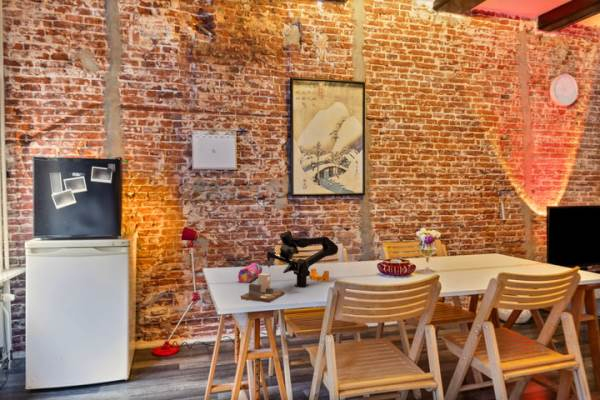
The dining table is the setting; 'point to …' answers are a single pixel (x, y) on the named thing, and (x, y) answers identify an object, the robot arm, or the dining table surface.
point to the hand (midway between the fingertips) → (275, 269)
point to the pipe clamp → (319, 278)
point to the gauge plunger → (264, 281)
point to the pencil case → (249, 273)
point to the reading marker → (269, 290)
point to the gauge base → (275, 295)
